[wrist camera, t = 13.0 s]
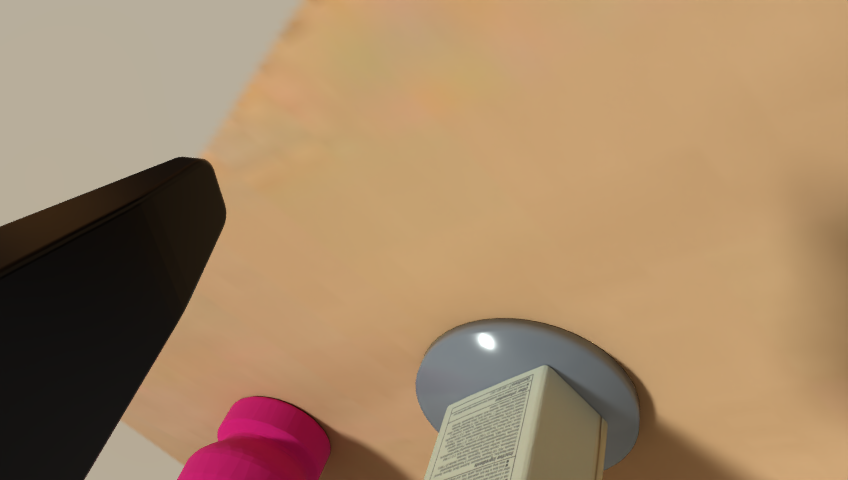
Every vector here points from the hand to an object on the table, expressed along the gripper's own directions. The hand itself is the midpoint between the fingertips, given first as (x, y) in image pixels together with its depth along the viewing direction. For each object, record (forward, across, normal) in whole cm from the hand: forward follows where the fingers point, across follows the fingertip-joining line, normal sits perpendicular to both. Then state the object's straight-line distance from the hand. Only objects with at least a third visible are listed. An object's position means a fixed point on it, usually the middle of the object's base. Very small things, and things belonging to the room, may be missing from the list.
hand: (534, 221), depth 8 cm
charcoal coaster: (+13, +2, +20) cm, 24 cm away
